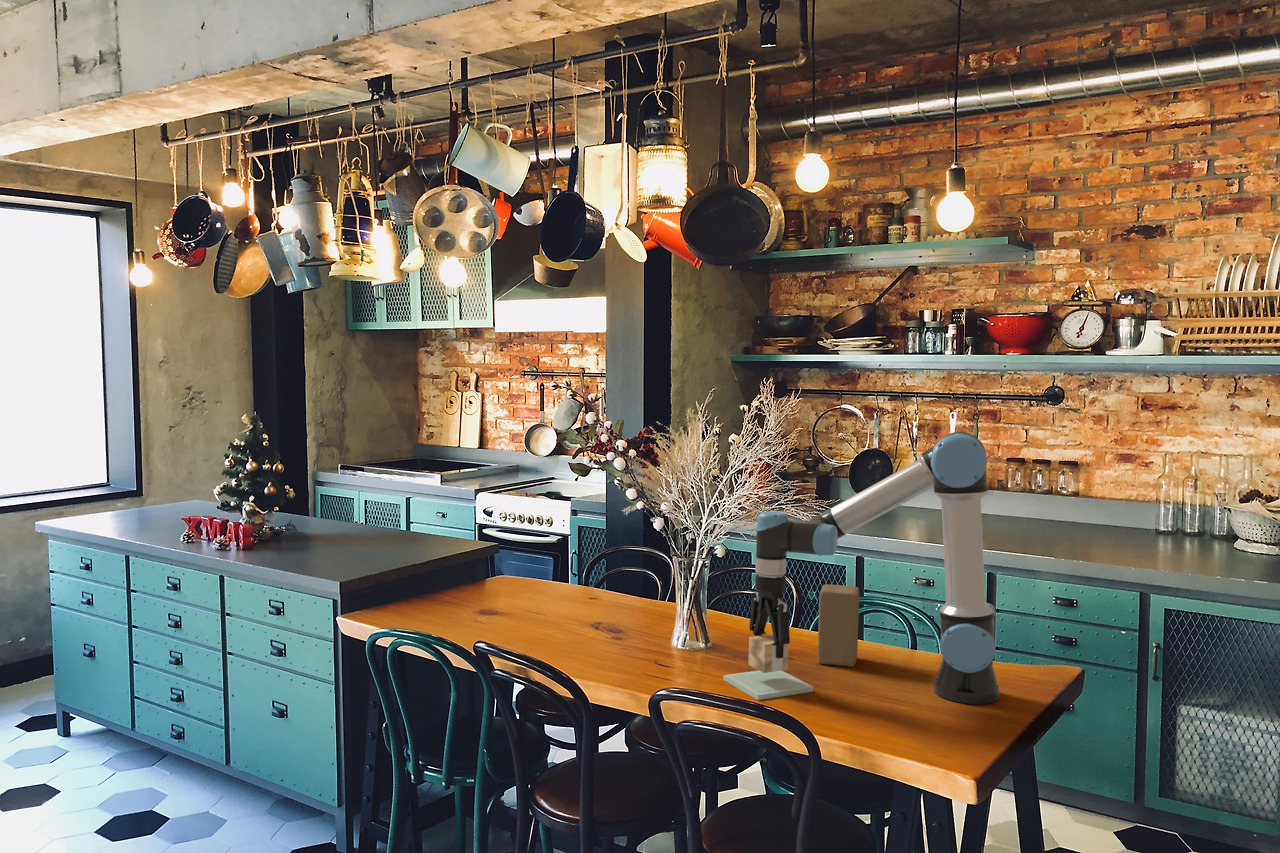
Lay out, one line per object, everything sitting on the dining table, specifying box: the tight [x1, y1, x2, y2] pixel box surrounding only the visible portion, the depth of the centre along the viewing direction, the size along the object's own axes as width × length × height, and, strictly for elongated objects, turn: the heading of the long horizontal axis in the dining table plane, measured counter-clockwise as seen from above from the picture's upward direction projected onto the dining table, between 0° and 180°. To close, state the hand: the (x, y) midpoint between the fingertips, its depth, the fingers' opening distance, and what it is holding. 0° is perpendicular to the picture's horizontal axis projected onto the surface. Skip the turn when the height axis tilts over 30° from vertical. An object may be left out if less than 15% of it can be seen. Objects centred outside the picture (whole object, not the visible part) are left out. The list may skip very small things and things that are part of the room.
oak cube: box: [747, 633, 790, 673], centre depth 233 cm, size 7×7×7 cm
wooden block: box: [817, 584, 860, 668], centre depth 255 cm, size 10×10×20 cm
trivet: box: [722, 669, 814, 701], centre depth 234 cm, size 16×16×1 cm
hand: (768, 665), depth 234 cm, fingers closed on oak cube, 7 cm apart
